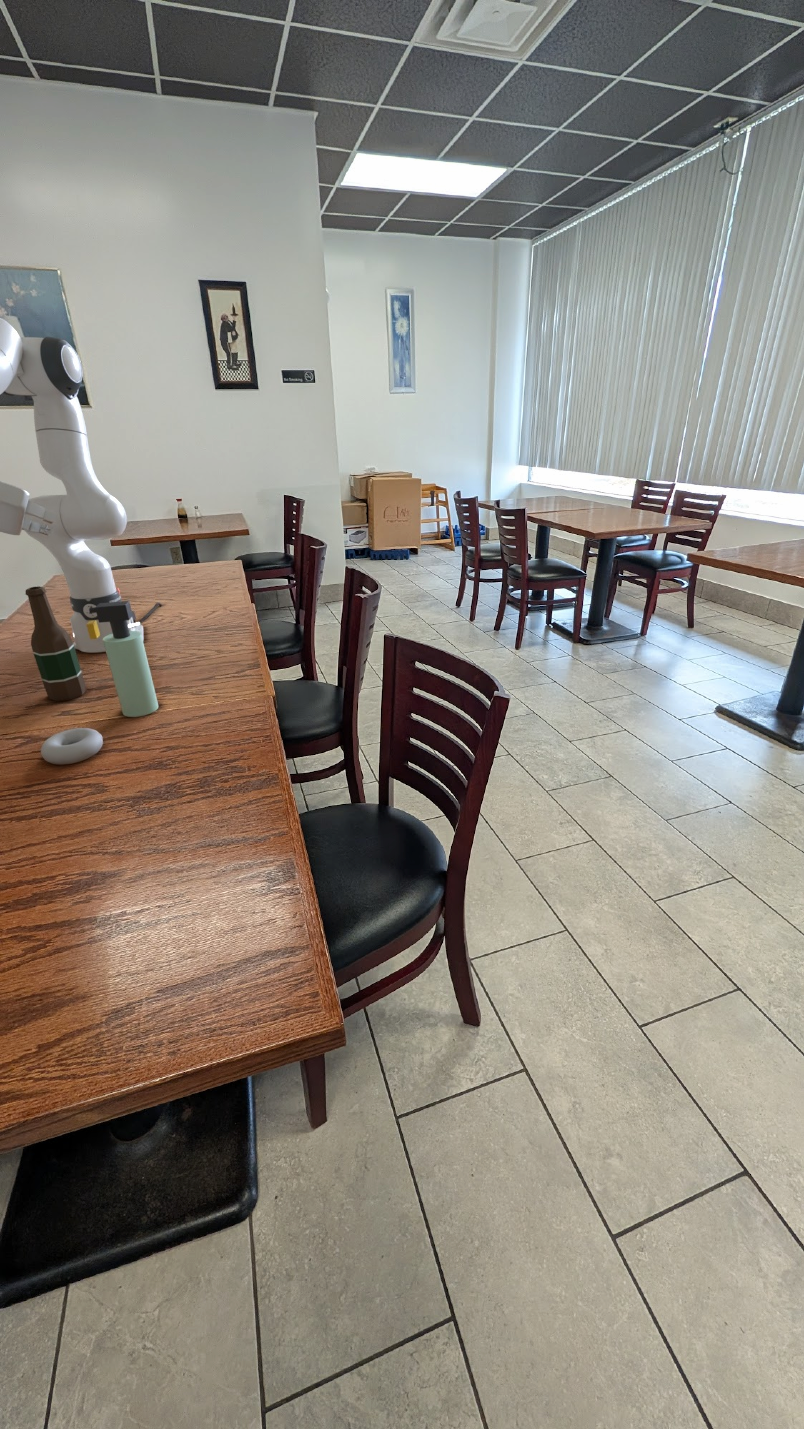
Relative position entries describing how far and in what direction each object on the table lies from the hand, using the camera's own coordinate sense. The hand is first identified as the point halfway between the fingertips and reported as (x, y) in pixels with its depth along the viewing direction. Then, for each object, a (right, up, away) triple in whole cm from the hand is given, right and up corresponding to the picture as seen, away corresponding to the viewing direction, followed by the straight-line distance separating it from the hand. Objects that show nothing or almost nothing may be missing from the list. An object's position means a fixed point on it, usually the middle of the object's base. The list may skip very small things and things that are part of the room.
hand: (52, 525), depth 114 cm
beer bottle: (-6, -33, +17) cm, 37 cm away
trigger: (+8, -22, 0) cm, 23 cm away
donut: (+9, -44, -8) cm, 46 cm away
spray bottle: (+14, -36, +8) cm, 39 cm away
